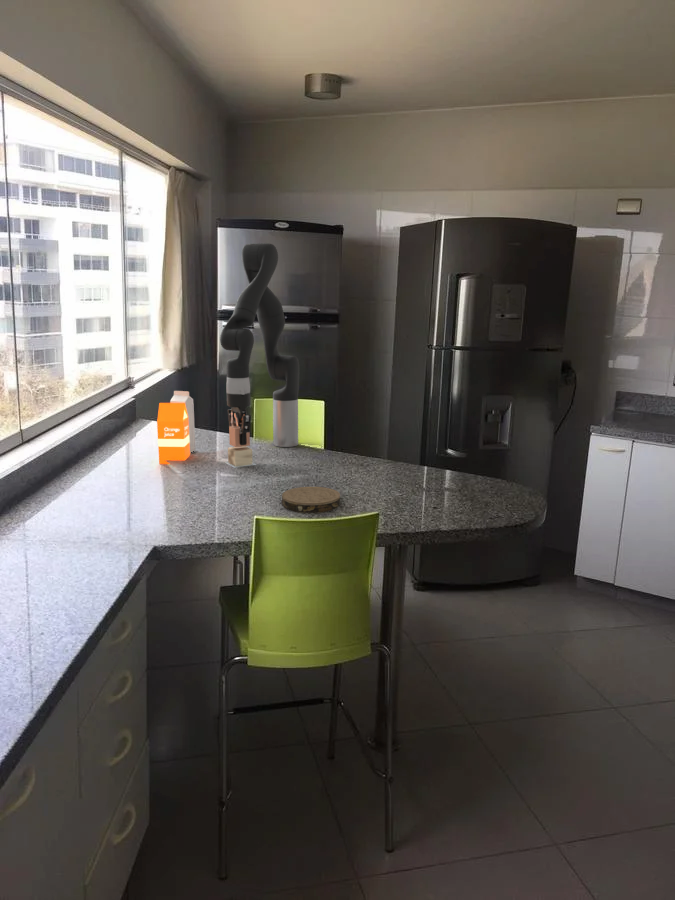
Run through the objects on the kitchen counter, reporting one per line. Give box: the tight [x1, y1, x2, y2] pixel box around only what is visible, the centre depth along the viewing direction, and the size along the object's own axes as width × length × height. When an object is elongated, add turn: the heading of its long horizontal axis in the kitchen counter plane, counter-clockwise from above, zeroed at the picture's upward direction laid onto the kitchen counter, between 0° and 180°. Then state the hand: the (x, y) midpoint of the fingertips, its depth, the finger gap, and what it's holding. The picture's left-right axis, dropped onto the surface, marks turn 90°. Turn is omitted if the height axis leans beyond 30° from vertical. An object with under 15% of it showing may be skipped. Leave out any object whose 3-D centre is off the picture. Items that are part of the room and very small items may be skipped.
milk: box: [169, 390, 196, 454], centre depth 252 cm, size 6×6×22 cm
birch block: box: [227, 446, 254, 468], centre depth 234 cm, size 6×6×5 cm
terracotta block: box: [228, 425, 251, 447], centre depth 232 cm, size 5×5×6 cm
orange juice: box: [156, 402, 191, 465], centre depth 240 cm, size 8×9×20 cm
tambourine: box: [281, 486, 341, 514], centre depth 196 cm, size 16×16×3 cm
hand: (239, 442), depth 233 cm, fingers closed on terracotta block, 5 cm apart
